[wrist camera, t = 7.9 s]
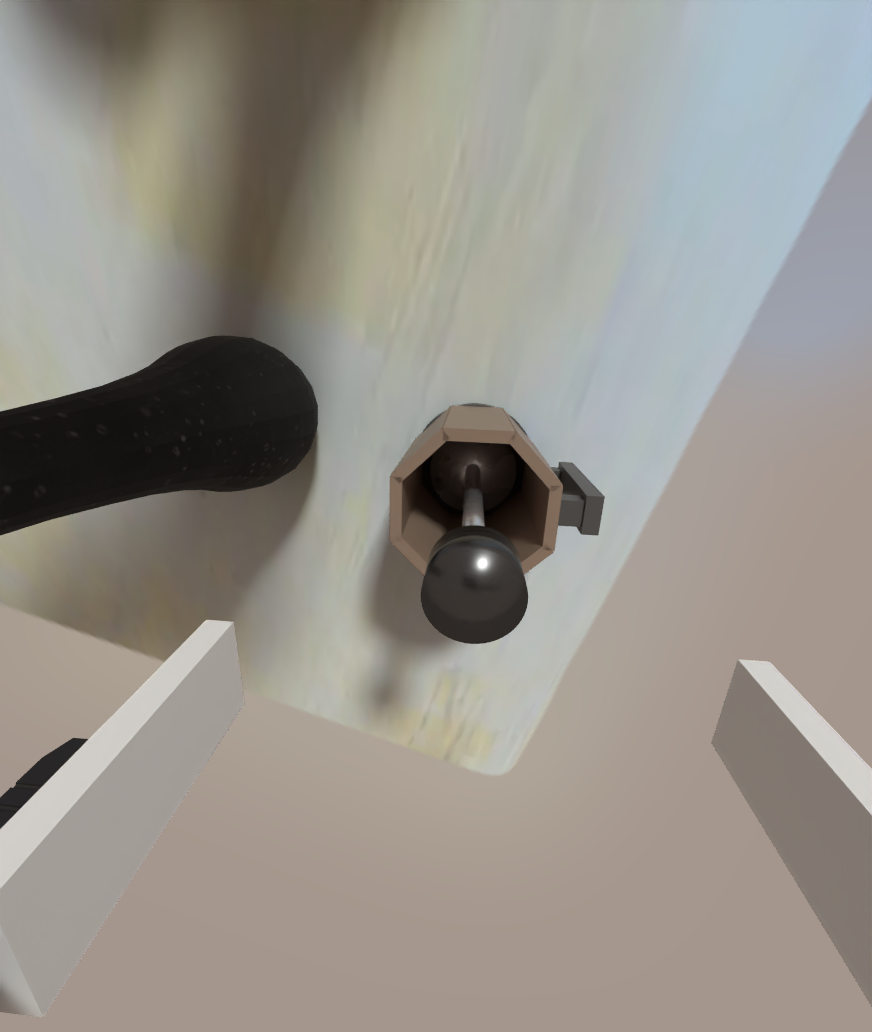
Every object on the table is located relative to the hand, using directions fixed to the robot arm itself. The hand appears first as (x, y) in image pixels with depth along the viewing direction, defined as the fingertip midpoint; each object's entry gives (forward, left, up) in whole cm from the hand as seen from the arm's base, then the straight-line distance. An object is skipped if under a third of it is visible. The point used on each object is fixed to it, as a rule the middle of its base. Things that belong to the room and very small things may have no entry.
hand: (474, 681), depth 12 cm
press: (0, +1, -28) cm, 28 cm away
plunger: (0, 0, -26) cm, 26 cm away
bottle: (-4, -17, -28) cm, 33 cm away
